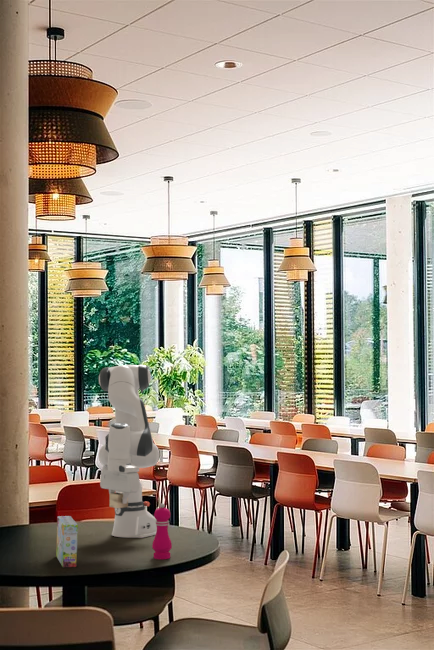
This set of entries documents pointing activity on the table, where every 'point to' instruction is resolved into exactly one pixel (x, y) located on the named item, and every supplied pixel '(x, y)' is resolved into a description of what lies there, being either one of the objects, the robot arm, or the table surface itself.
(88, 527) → the table surface
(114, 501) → the letter cube
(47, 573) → the table surface
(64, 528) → the snack box
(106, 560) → the table surface
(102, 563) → the table surface
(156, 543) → the pepper mill
